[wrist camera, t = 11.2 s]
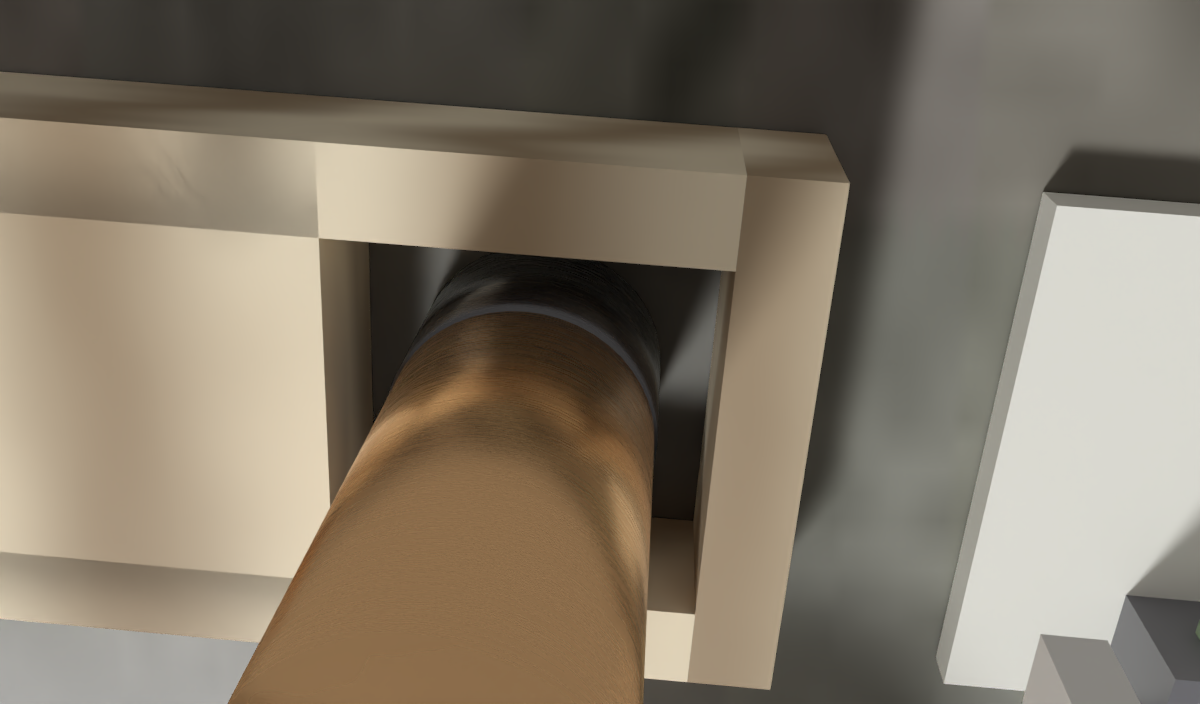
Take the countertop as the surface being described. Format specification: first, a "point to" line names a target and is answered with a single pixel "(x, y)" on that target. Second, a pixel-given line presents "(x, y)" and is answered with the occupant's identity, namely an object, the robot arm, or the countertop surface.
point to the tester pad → (1091, 457)
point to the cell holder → (360, 335)
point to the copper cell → (488, 509)
